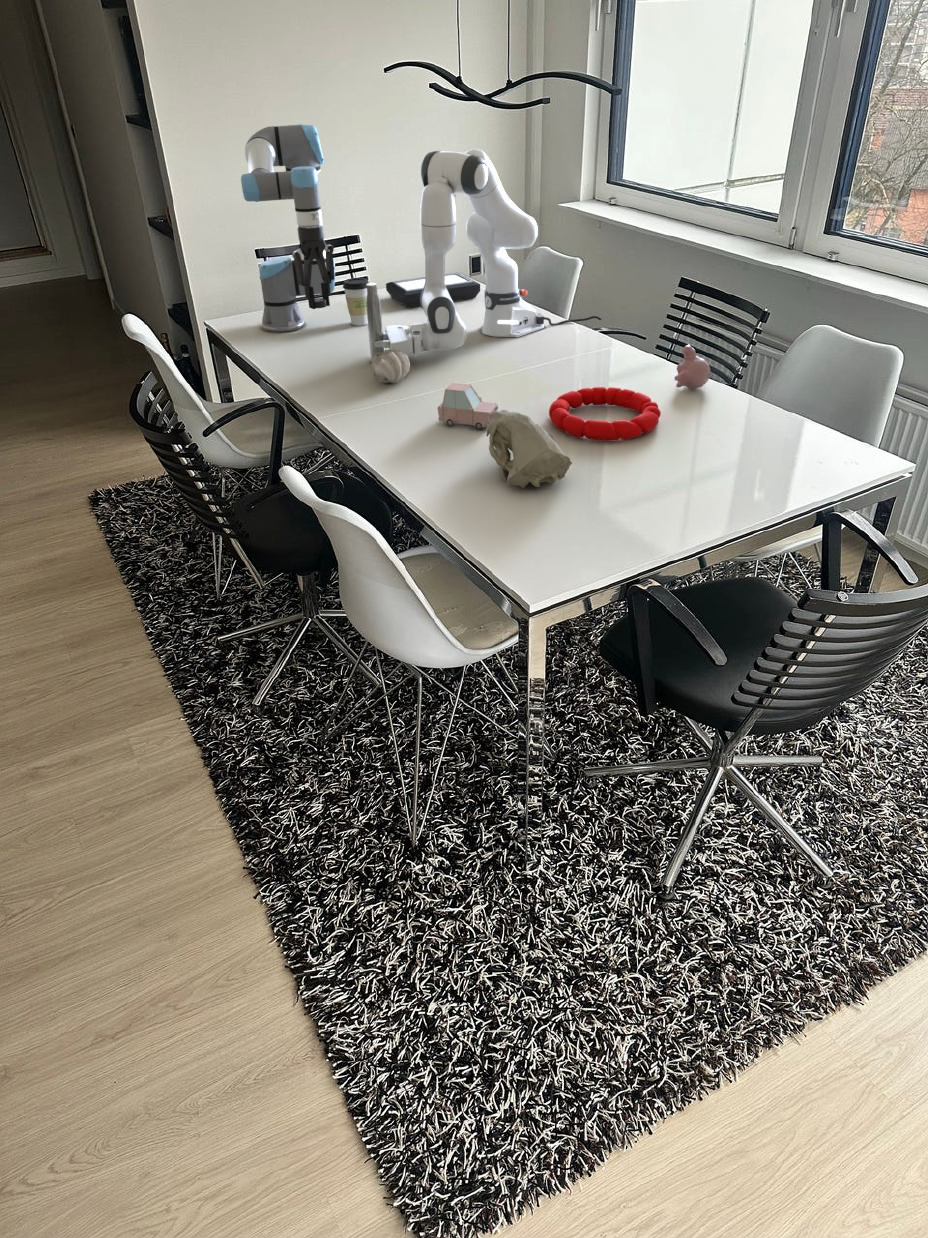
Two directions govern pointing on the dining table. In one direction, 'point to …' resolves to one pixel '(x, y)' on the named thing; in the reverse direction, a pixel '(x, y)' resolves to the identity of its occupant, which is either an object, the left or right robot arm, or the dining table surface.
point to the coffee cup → (356, 300)
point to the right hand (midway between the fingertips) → (373, 341)
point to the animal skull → (525, 450)
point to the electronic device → (412, 288)
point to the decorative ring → (604, 428)
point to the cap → (320, 302)
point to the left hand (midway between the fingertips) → (319, 306)
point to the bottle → (374, 319)
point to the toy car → (465, 406)
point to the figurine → (692, 370)
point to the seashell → (390, 366)
